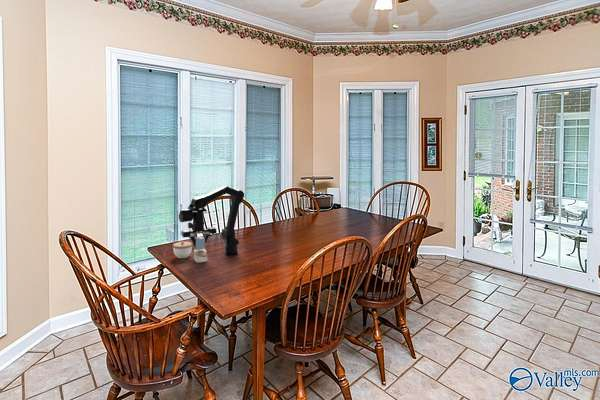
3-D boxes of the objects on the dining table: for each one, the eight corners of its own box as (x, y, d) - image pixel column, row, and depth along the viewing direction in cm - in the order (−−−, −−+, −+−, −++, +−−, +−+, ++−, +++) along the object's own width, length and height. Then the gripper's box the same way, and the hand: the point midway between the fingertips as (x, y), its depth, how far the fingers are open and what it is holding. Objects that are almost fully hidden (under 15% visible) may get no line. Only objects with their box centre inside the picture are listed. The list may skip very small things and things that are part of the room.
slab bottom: (204, 258, 211) (204, 253, 211) (207, 261, 206) (207, 256, 206) (194, 260, 208) (193, 255, 208) (196, 263, 203) (196, 258, 203)
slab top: (204, 253, 211) (204, 248, 210) (206, 256, 205) (206, 251, 205) (194, 255, 208) (193, 250, 208) (195, 258, 203) (195, 253, 202)
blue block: (202, 246, 209) (202, 236, 208) (205, 248, 205) (204, 238, 204) (194, 247, 207) (193, 237, 206) (196, 250, 203) (196, 239, 202)
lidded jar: (172, 260, 207) (172, 244, 205) (174, 254, 217) (173, 239, 215) (192, 259, 209) (191, 243, 208) (192, 253, 220) (192, 238, 218)
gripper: (210, 215, 215) (211, 240, 217) (178, 218, 205) (179, 245, 208) (216, 219, 205) (217, 245, 208) (182, 222, 196) (184, 250, 199)
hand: (199, 246), depth 206 cm, fingers closed on blue block, 5 cm apart
